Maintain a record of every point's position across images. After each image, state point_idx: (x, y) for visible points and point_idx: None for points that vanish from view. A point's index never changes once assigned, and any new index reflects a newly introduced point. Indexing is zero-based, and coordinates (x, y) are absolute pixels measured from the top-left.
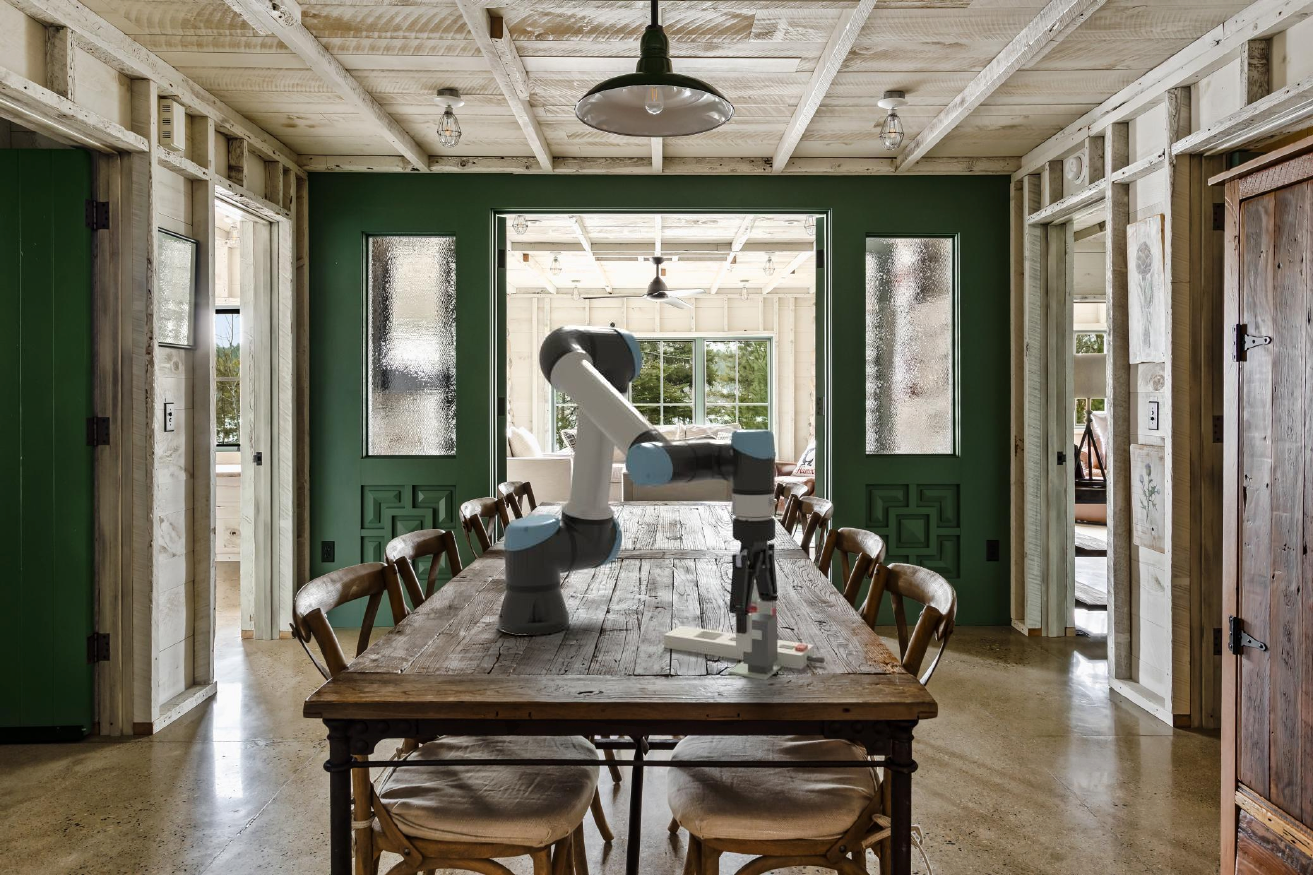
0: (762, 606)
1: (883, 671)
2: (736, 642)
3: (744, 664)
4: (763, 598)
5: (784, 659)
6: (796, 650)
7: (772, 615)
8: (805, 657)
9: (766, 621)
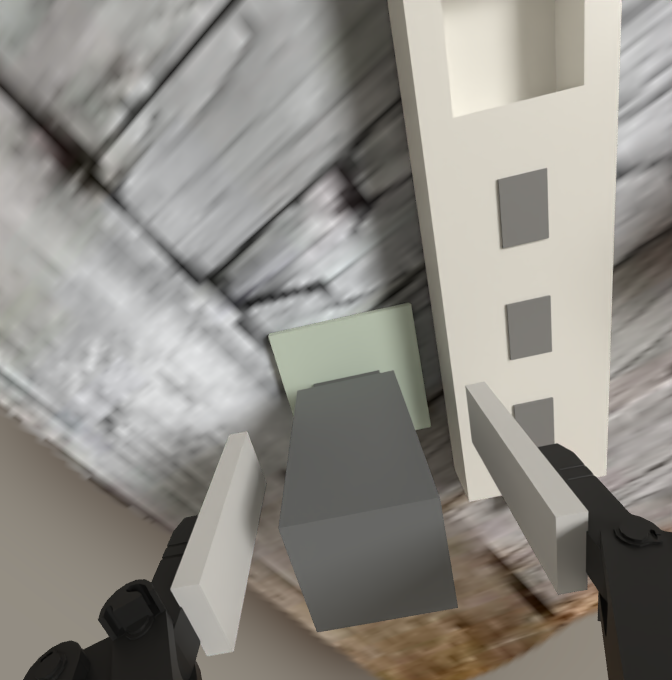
0: (539, 519)
1: (558, 602)
2: (222, 459)
3: (367, 333)
4: (595, 557)
5: (455, 438)
6: None
7: (443, 593)
8: None
9: (319, 626)
